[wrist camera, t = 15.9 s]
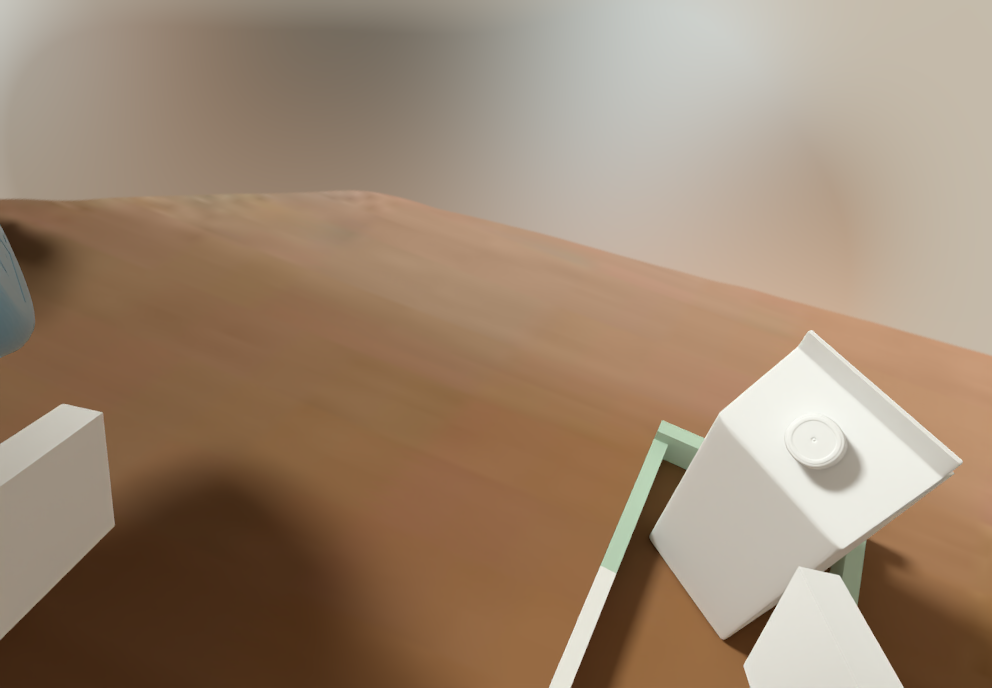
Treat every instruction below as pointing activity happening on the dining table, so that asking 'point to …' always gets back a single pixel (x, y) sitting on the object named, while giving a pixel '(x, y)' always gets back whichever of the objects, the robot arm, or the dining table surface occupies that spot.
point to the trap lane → (673, 449)
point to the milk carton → (792, 483)
